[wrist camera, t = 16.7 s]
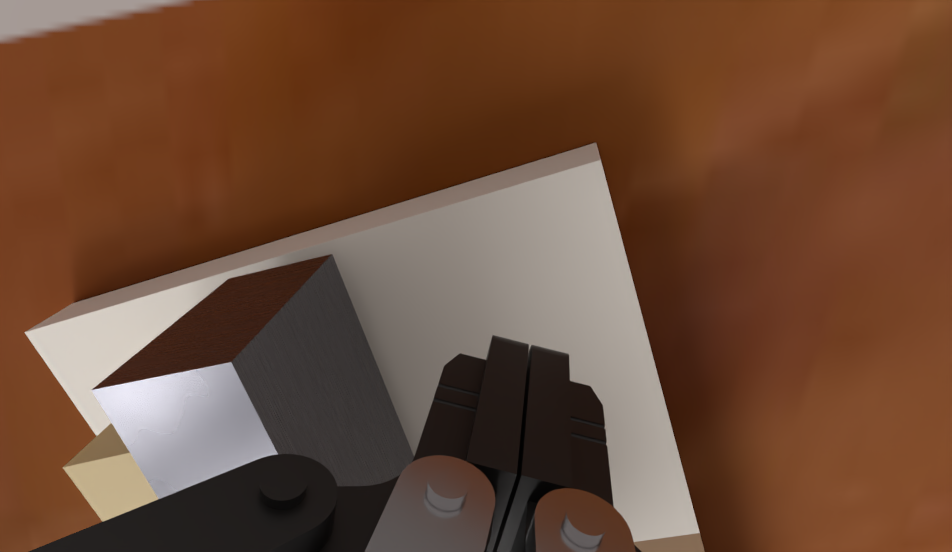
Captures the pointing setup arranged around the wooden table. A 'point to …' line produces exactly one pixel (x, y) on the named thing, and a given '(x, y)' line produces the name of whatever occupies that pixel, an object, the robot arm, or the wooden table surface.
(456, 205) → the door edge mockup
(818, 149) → the wooden table surface
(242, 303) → the block
